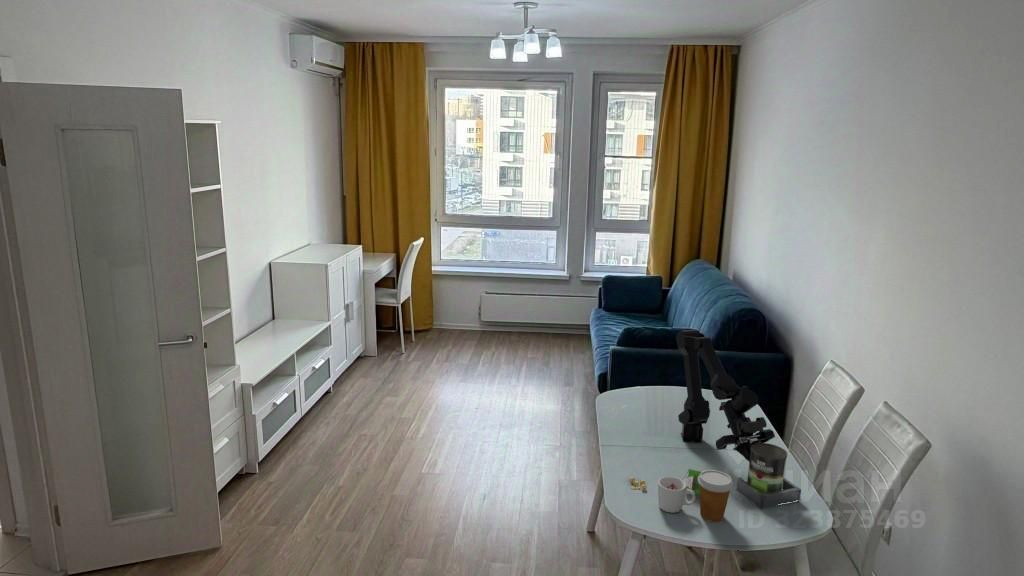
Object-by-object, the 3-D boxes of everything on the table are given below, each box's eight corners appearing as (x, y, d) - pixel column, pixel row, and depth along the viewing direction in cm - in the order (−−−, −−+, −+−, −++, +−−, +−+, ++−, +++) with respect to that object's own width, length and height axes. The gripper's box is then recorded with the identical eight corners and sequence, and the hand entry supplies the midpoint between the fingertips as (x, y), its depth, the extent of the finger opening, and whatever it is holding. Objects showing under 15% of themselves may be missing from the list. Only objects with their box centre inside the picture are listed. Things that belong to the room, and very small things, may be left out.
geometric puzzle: (686, 474, 208) (684, 462, 202) (708, 479, 205) (707, 467, 199) (681, 495, 204) (679, 483, 198) (704, 501, 201) (703, 489, 195)
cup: (695, 505, 194) (697, 481, 192) (693, 520, 187) (695, 494, 185) (657, 498, 198) (659, 474, 196) (654, 512, 190) (656, 487, 189)
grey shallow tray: (736, 489, 204) (737, 477, 203) (773, 483, 208) (775, 471, 207) (760, 509, 193) (762, 496, 193) (799, 501, 198) (801, 489, 197)
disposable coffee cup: (735, 523, 186) (740, 484, 183) (704, 526, 184) (708, 487, 181) (718, 505, 195) (722, 467, 192) (688, 508, 193) (692, 470, 190)
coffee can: (773, 506, 195) (778, 462, 192) (739, 492, 202) (744, 450, 199) (787, 493, 202) (793, 450, 199) (754, 480, 209) (759, 439, 206)
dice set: (630, 482, 208) (630, 477, 207) (646, 485, 206) (647, 479, 206) (628, 490, 203) (629, 485, 202) (645, 493, 202) (646, 487, 201)
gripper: (724, 412, 203) (744, 461, 196) (774, 405, 209) (795, 453, 202) (707, 425, 212) (725, 473, 205) (755, 418, 218) (774, 465, 211)
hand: (755, 466), depth 205 cm, fingers closed, pressing on coffee can
